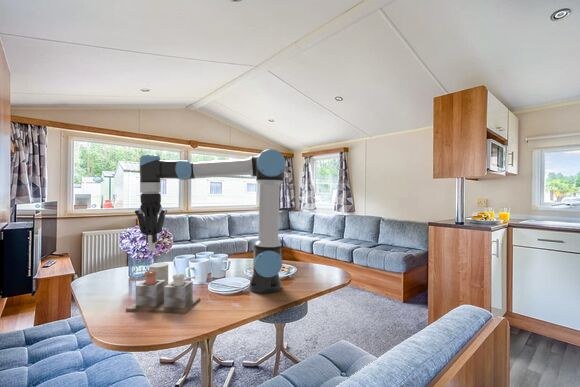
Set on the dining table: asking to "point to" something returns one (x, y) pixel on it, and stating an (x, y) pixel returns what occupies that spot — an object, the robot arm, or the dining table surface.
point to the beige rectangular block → (160, 271)
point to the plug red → (151, 277)
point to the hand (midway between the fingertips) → (151, 250)
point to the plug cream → (178, 279)
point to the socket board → (164, 298)
